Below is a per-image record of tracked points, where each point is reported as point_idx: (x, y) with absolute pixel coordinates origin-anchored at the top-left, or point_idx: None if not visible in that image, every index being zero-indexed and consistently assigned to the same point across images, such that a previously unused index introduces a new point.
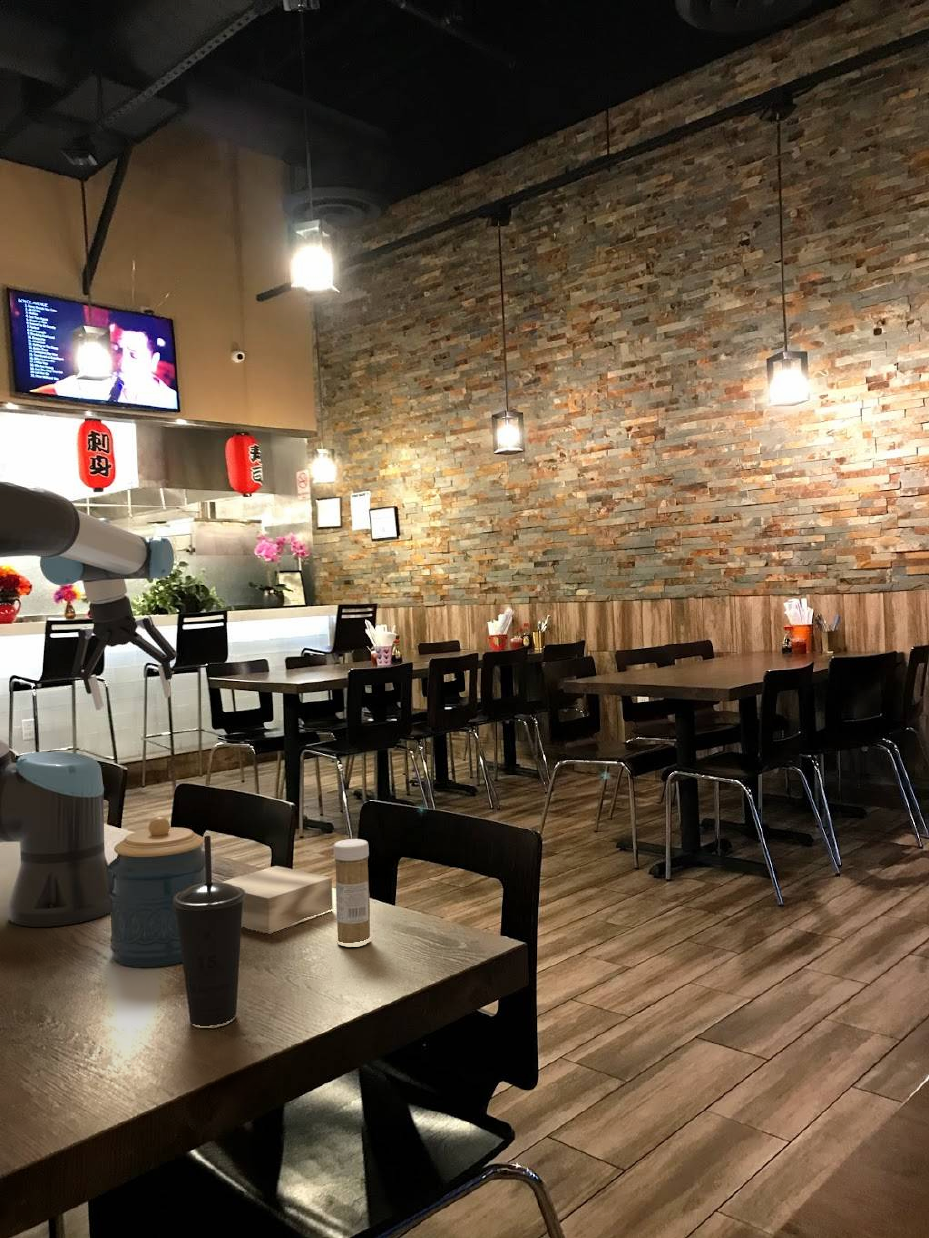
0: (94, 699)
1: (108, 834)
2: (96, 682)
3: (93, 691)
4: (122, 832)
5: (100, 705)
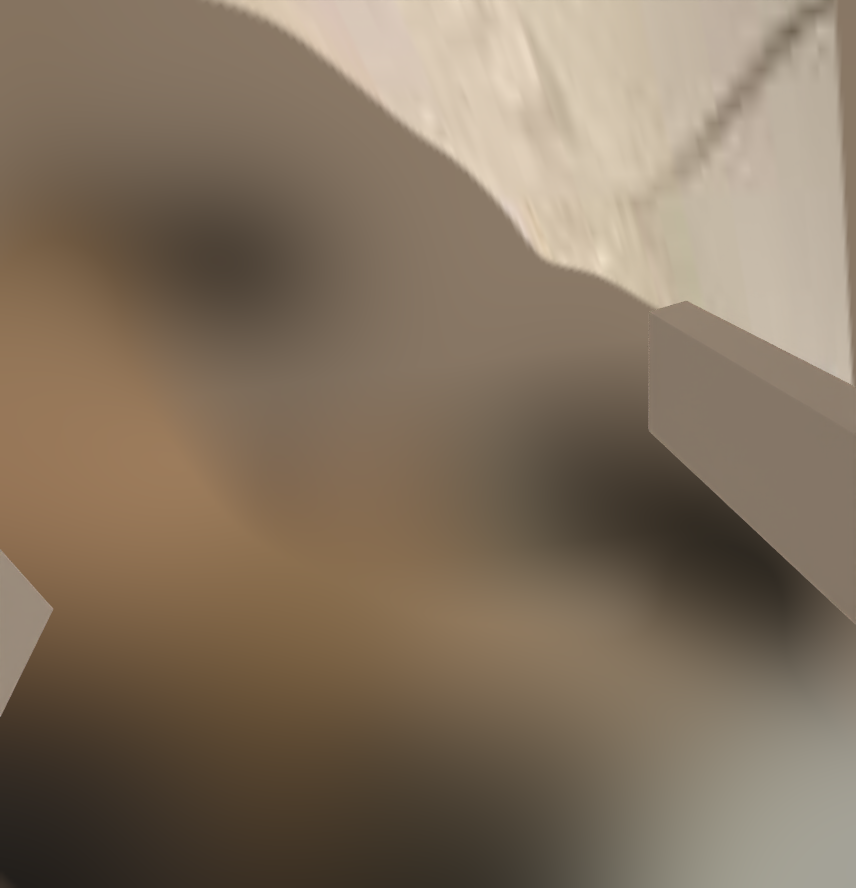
0: (757, 346)
1: (468, 94)
2: (850, 575)
3: (829, 396)
4: (429, 130)
5: (664, 362)
